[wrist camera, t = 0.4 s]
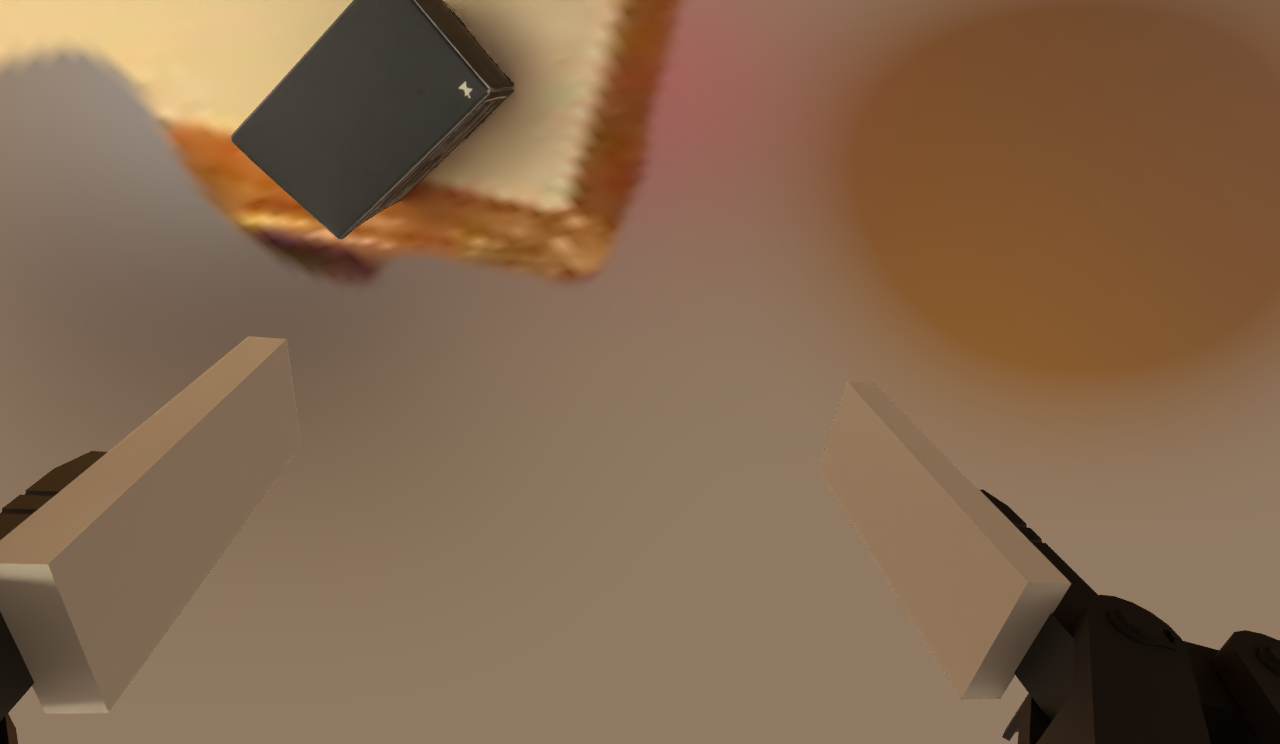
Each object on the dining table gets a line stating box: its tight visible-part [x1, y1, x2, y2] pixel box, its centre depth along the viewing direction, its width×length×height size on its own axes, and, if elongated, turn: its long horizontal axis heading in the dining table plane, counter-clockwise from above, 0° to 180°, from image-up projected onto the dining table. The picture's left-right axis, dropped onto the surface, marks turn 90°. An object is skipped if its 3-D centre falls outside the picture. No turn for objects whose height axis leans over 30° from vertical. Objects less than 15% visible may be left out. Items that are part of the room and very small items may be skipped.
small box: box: [230, 0, 514, 239], centre depth 31 cm, size 11×6×10 cm, turn 129°
